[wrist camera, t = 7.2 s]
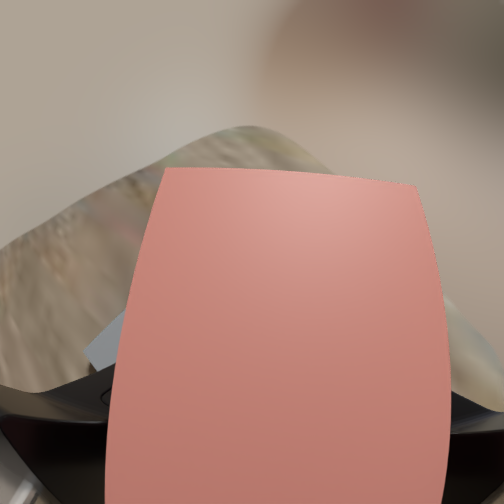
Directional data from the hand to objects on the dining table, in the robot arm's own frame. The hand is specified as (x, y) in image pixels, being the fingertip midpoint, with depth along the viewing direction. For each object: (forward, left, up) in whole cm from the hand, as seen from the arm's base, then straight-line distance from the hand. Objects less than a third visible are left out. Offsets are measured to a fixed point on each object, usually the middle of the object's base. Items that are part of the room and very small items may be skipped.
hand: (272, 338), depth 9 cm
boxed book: (-1, +1, -7) cm, 7 cm away
